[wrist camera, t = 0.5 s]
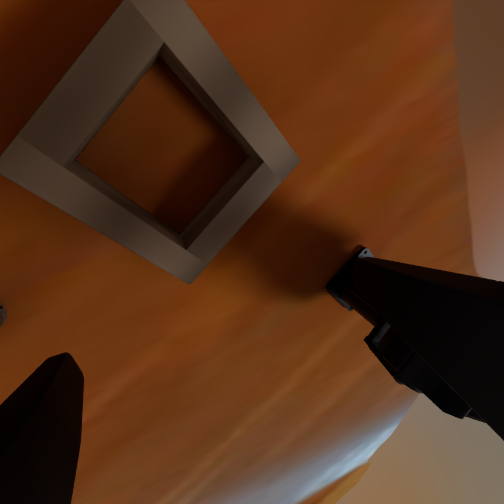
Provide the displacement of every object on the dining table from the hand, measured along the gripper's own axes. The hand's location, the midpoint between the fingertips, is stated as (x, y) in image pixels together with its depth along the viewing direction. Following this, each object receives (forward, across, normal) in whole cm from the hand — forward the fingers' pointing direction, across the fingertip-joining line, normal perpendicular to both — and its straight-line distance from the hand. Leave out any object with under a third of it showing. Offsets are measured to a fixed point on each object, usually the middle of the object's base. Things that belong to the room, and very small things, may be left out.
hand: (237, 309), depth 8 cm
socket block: (+13, 0, -3) cm, 13 cm away
